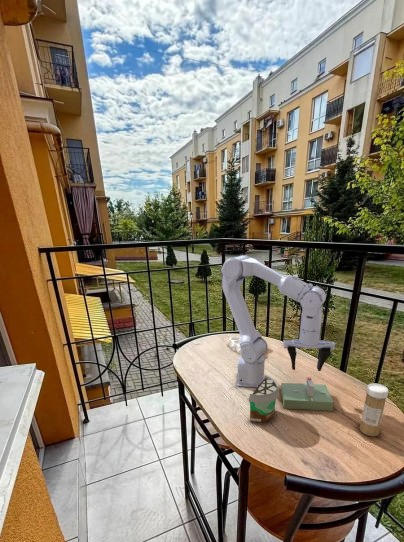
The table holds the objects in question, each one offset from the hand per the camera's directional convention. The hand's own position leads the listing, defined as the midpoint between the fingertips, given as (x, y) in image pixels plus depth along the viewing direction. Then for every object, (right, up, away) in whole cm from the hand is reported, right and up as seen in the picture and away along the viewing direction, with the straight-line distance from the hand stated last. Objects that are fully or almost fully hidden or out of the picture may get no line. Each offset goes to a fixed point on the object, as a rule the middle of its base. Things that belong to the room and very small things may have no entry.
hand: (305, 369), depth 88 cm
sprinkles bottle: (+12, -15, -14) cm, 23 cm away
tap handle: (+1, -7, -1) cm, 7 cm away
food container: (-14, -13, -6) cm, 20 cm away
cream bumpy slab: (-12, +4, +40) cm, 42 cm away
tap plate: (0, -10, 0) cm, 10 cm away
